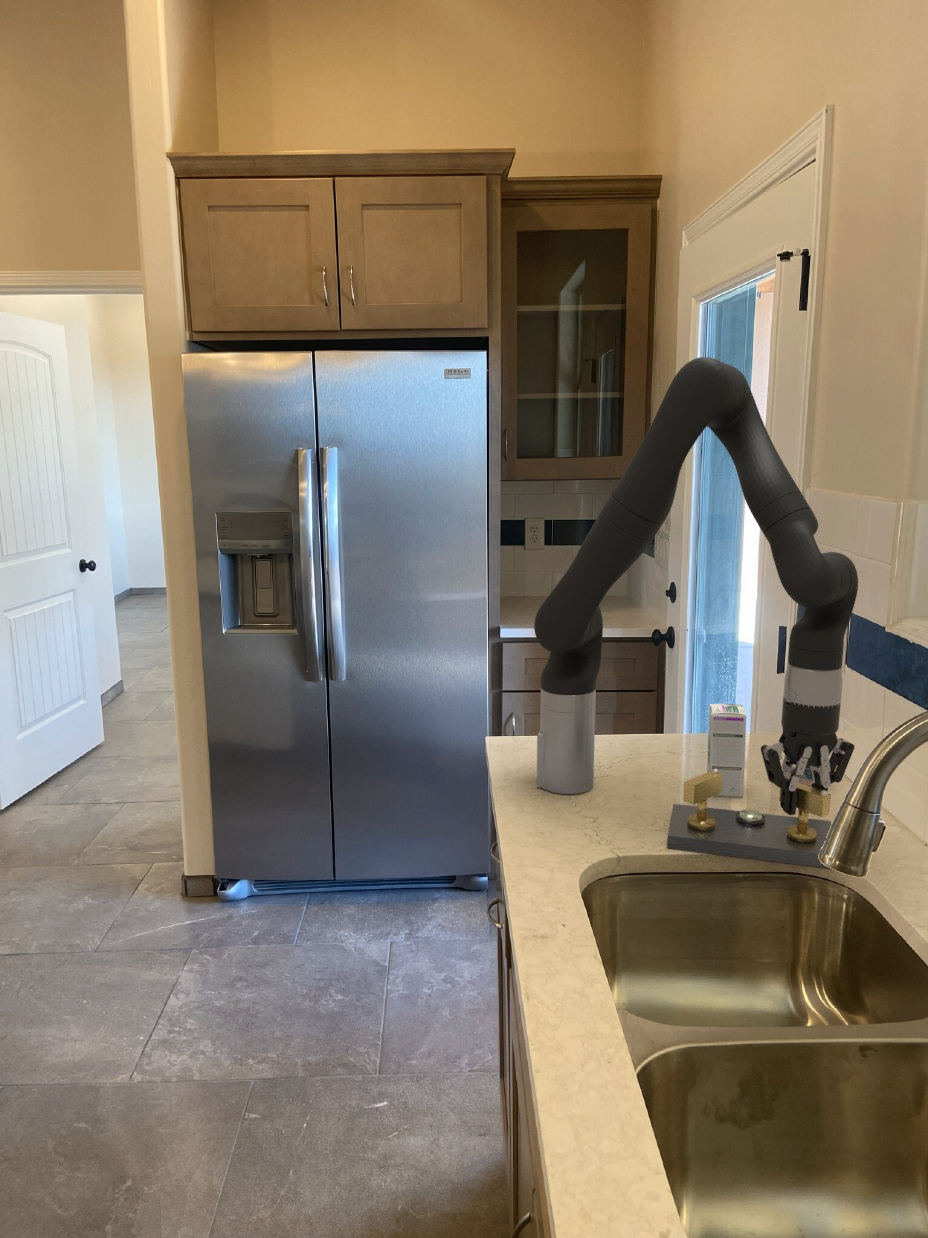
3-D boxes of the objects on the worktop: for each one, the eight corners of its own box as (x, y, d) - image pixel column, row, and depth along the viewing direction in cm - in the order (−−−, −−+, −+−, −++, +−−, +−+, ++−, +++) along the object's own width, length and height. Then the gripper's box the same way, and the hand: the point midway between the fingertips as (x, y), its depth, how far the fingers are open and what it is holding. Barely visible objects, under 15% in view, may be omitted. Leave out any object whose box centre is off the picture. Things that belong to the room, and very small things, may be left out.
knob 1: (698, 835, 129) (701, 783, 128) (675, 826, 132) (678, 775, 131) (726, 822, 134) (729, 771, 132) (703, 814, 137) (706, 764, 135)
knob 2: (772, 831, 131) (775, 779, 129) (789, 824, 133) (792, 773, 131) (814, 848, 125) (818, 794, 123) (831, 841, 127) (836, 788, 126)
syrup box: (743, 798, 148) (748, 714, 145) (706, 795, 149) (711, 712, 146) (740, 785, 153) (745, 704, 151) (704, 783, 155) (709, 702, 152)
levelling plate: (667, 848, 130) (668, 829, 129) (673, 815, 141) (673, 797, 141) (837, 869, 123) (839, 849, 123) (829, 833, 135) (831, 814, 134)
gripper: (839, 685, 130) (830, 797, 133) (751, 692, 127) (744, 805, 130) (874, 700, 123) (862, 817, 126) (781, 707, 120) (772, 827, 123)
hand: (802, 811), depth 128 cm, fingers open, 4 cm apart
